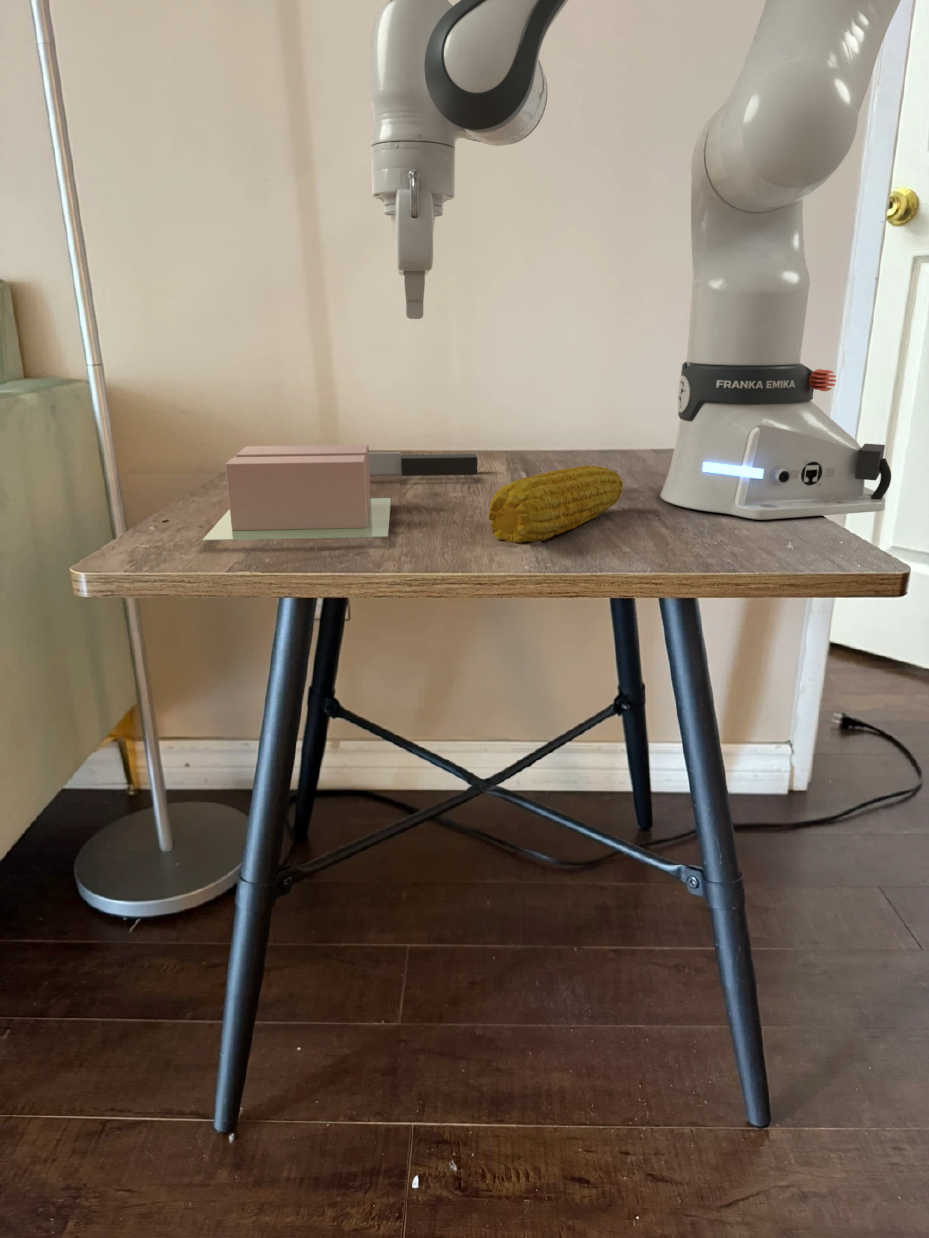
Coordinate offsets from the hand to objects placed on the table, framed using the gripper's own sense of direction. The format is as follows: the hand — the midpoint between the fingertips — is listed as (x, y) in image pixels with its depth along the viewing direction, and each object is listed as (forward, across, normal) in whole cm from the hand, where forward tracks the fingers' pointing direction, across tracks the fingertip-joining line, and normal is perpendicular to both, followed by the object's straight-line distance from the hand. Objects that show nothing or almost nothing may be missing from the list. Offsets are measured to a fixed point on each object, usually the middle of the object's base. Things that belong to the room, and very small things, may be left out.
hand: (414, 318), depth 96 cm
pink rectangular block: (+18, -18, +11) cm, 27 cm away
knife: (+19, +1, +4) cm, 19 cm away
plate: (+19, -21, +11) cm, 30 cm away
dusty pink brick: (+18, -24, +11) cm, 32 cm away
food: (+18, -24, -13) cm, 33 cm away
